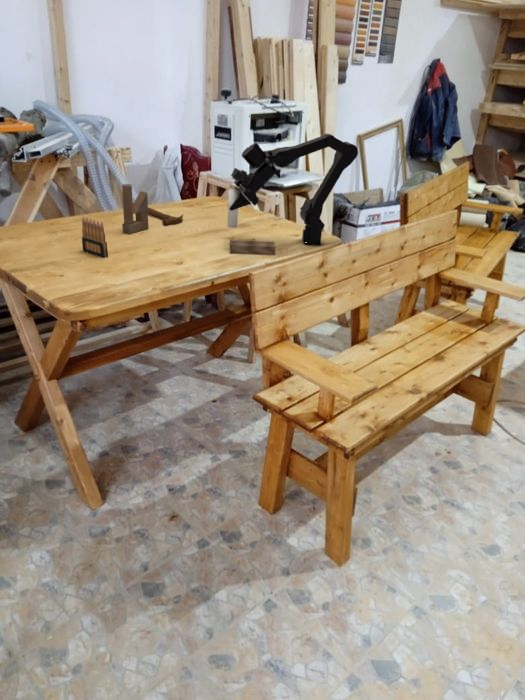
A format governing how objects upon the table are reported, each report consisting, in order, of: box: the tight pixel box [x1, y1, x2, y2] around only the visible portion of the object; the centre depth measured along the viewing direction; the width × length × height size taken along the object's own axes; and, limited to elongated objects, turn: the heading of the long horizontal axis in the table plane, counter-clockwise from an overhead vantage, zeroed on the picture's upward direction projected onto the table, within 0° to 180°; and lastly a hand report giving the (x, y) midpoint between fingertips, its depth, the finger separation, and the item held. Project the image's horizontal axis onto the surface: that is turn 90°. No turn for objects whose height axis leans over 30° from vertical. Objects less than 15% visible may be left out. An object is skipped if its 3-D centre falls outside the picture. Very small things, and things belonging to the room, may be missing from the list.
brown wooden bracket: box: [121, 183, 149, 235], centre depth 213 cm, size 4×11×18 cm, turn 147°
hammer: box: [148, 207, 184, 227], centre depth 238 cm, size 12×3×30 cm
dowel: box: [227, 188, 239, 229], centre depth 203 cm, size 4×4×13 cm
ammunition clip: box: [81, 216, 109, 259], centre depth 188 cm, size 11×2×12 cm, turn 56°
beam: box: [229, 239, 276, 256], centre depth 202 cm, size 16×6×3 cm, turn 94°
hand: (229, 208), depth 203 cm, fingers closed on dowel, 4 cm apart
